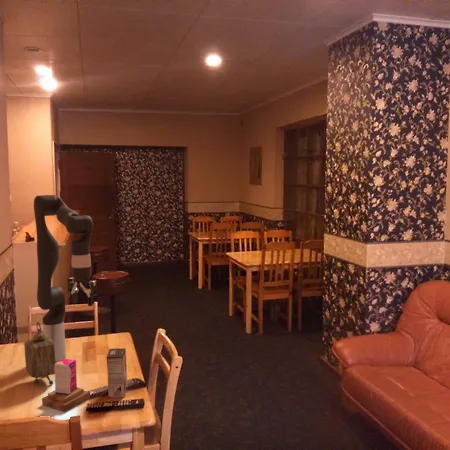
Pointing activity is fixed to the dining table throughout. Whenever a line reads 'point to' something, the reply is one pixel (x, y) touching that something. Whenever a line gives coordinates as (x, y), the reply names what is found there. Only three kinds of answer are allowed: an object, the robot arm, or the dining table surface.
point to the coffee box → (117, 372)
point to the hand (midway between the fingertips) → (83, 304)
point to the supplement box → (65, 376)
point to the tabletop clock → (40, 356)
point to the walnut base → (65, 405)
